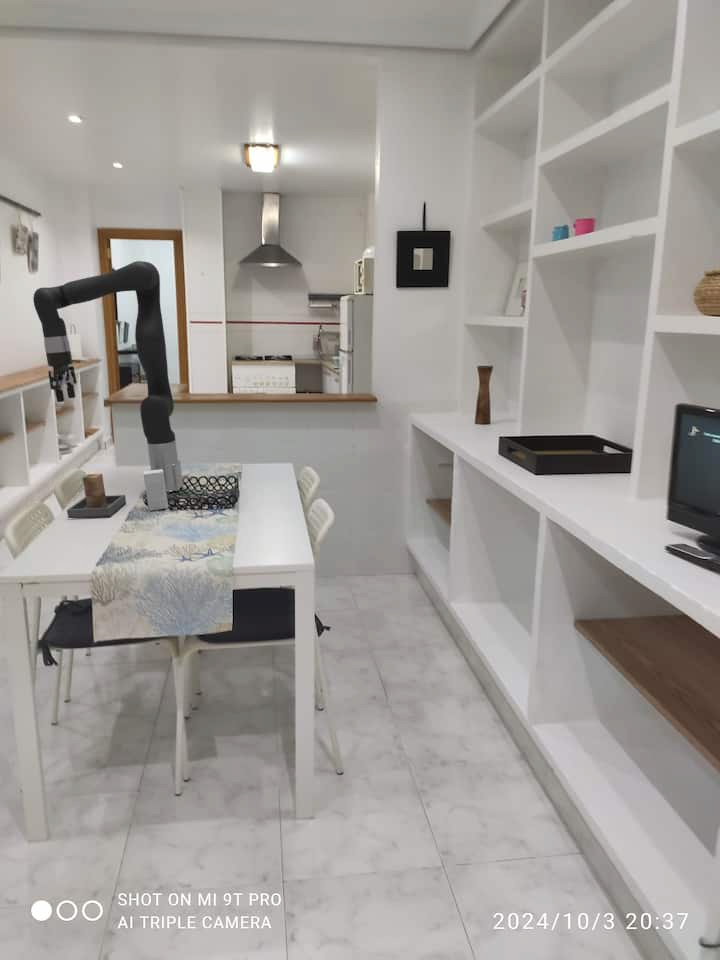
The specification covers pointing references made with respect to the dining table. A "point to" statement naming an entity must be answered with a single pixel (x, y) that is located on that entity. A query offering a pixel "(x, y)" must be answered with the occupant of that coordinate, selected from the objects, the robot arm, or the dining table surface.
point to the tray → (83, 512)
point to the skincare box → (155, 489)
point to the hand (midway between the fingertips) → (66, 399)
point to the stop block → (94, 491)
